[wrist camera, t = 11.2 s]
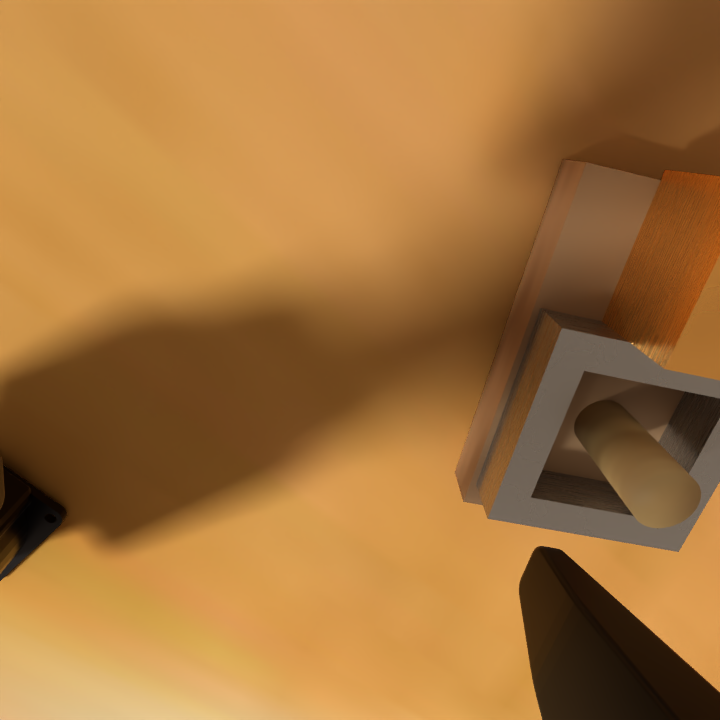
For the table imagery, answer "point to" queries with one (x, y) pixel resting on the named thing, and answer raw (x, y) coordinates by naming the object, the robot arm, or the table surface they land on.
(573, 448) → the keeper
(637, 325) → the link
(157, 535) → the table surface
